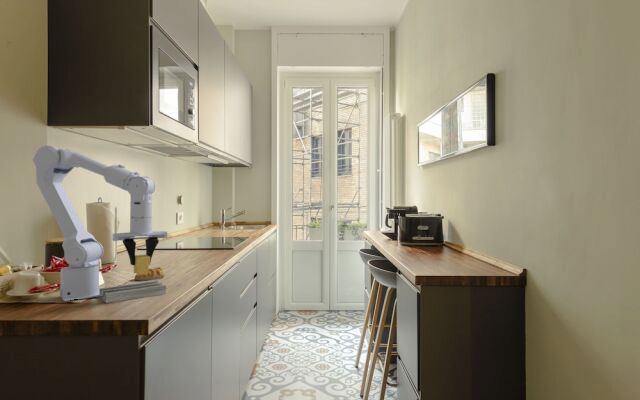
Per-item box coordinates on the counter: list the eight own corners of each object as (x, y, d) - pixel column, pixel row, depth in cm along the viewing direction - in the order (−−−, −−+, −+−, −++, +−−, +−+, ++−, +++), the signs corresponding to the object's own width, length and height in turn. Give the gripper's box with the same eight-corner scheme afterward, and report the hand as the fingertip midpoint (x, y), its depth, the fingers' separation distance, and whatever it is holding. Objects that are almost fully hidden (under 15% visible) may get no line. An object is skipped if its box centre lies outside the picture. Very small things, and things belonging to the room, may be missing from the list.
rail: (105, 303, 103) (105, 294, 103) (99, 297, 109) (99, 288, 109) (165, 293, 113) (166, 285, 113) (156, 288, 120) (156, 280, 120)
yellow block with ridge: (136, 275, 107) (136, 258, 107) (131, 272, 111) (132, 255, 111) (150, 274, 110) (150, 256, 109) (144, 271, 113) (145, 254, 113)
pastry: (140, 283, 128) (140, 271, 128) (130, 280, 132) (130, 269, 132) (166, 278, 136) (166, 267, 136) (156, 276, 140) (156, 265, 140)
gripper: (116, 218, 103) (116, 268, 103) (171, 217, 112) (170, 263, 112) (110, 217, 108) (110, 265, 108) (163, 216, 118) (162, 260, 118)
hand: (140, 264), depth 111 cm, fingers closed on yellow block with ridge, 4 cm apart
